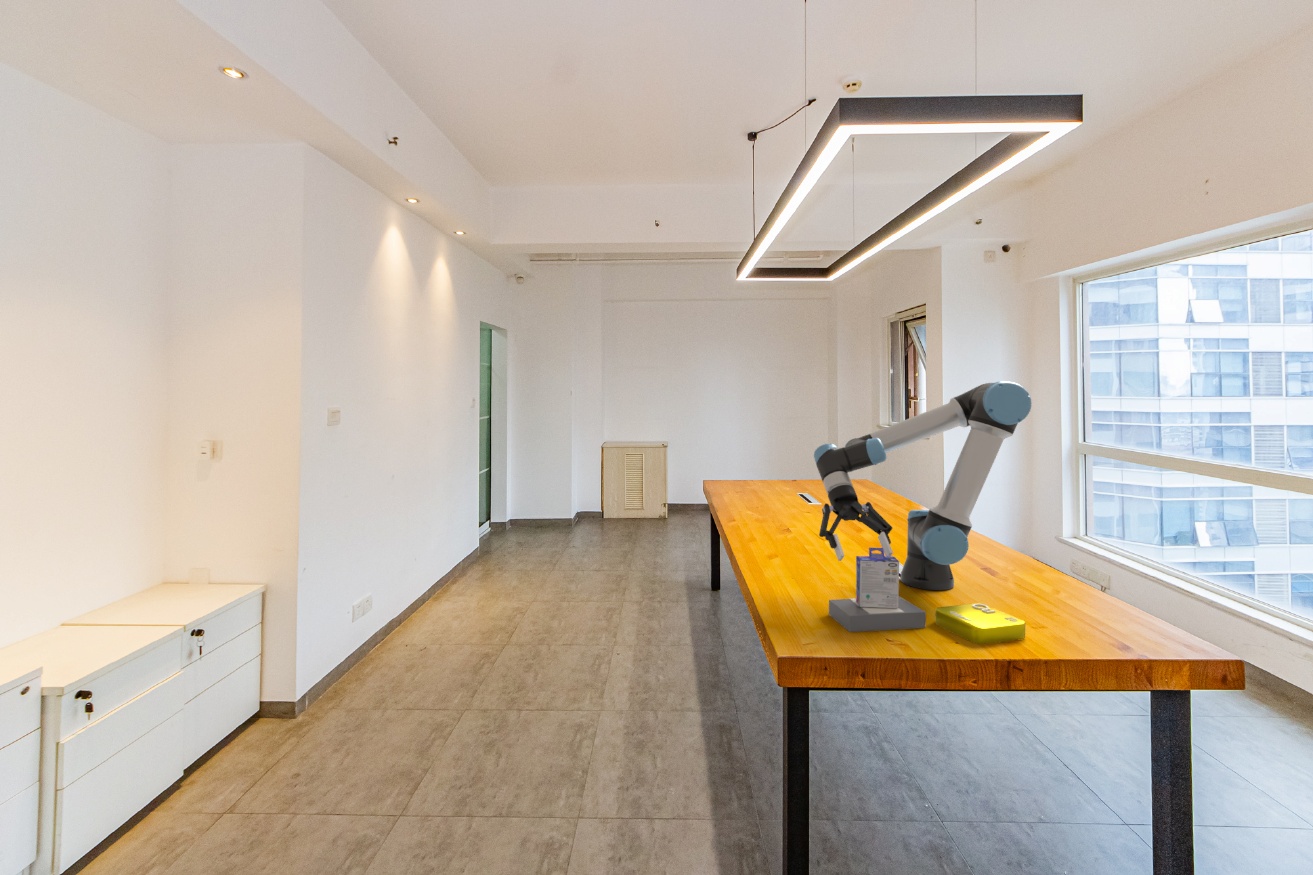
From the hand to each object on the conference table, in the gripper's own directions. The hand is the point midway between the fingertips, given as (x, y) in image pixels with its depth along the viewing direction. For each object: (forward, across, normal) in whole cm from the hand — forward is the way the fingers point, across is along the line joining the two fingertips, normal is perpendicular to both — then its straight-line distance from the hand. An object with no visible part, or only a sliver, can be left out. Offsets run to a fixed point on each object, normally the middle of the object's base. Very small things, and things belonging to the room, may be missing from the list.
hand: (865, 557), depth 153 cm
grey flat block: (+14, -1, -8) cm, 16 cm away
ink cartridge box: (+11, -1, -5) cm, 12 cm away
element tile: (+21, -23, -2) cm, 31 cm away
